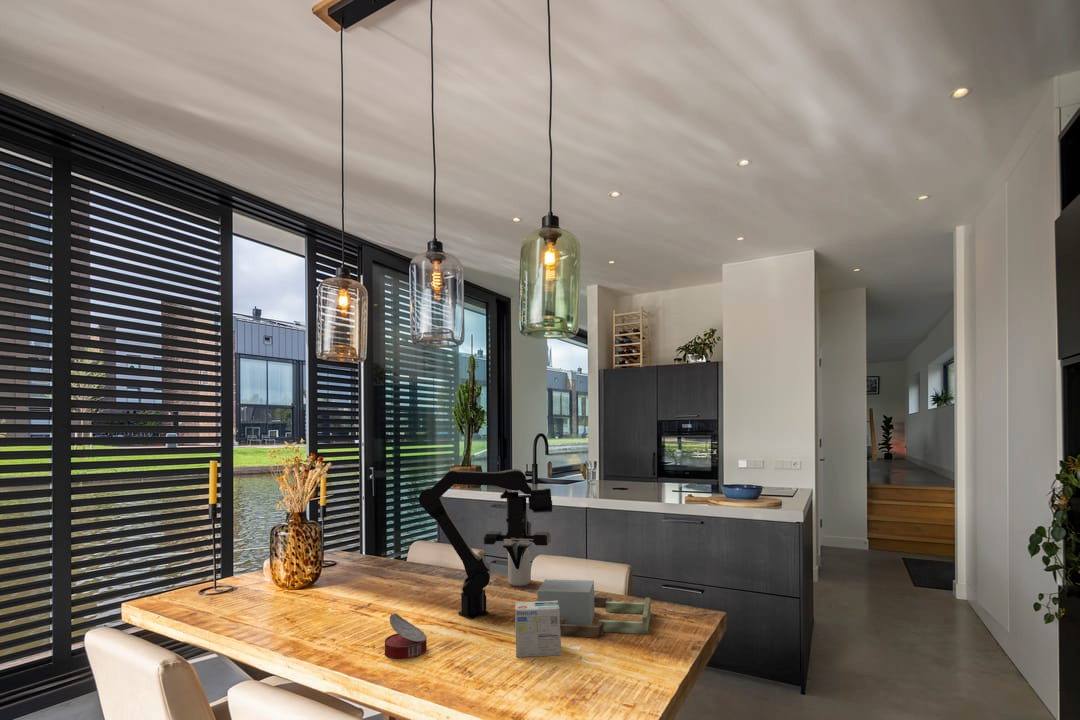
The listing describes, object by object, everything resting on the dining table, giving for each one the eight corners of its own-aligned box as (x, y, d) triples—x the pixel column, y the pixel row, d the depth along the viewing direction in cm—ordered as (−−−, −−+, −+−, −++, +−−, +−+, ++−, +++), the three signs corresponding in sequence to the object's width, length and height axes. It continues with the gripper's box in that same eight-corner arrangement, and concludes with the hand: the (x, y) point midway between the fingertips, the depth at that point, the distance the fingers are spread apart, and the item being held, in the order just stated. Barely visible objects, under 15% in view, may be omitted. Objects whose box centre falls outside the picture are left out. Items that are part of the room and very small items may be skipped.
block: (538, 625, 162) (537, 591, 163) (545, 611, 174) (545, 579, 175) (590, 627, 159) (589, 592, 160) (594, 613, 171) (593, 580, 172)
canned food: (403, 663, 150) (416, 621, 155) (430, 669, 144) (442, 624, 149) (367, 653, 143) (381, 609, 148) (393, 658, 137) (407, 612, 142)
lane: (527, 633, 155) (527, 617, 156) (548, 603, 181) (548, 589, 182) (646, 640, 149) (646, 623, 149) (651, 607, 175) (650, 593, 175)
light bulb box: (560, 645, 147) (558, 599, 148) (561, 656, 140) (560, 608, 141) (515, 647, 147) (515, 601, 148) (515, 658, 140) (514, 609, 141)
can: (530, 586, 200) (529, 549, 201) (507, 587, 200) (507, 549, 201) (531, 580, 207) (530, 544, 208) (509, 581, 207) (508, 545, 209)
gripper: (553, 509, 182) (555, 563, 180) (494, 509, 186) (494, 561, 184) (546, 515, 171) (547, 572, 169) (482, 514, 175) (483, 570, 173)
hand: (517, 568), depth 174 cm, fingers closed
